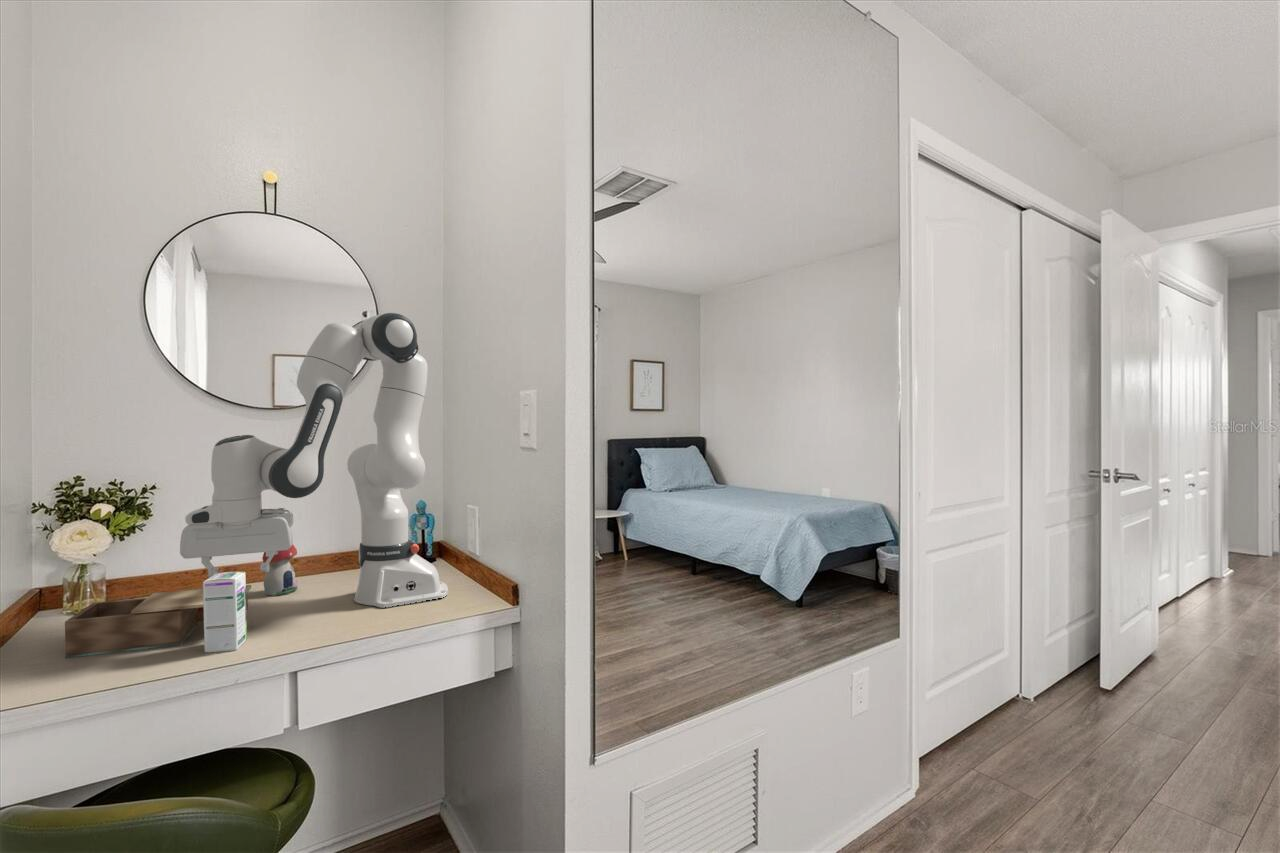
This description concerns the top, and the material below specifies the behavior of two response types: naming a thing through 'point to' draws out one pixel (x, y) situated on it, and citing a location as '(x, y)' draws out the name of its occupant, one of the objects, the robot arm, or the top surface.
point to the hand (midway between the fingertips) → (239, 574)
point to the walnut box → (125, 628)
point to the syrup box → (224, 611)
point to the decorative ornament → (280, 573)
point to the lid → (173, 601)
